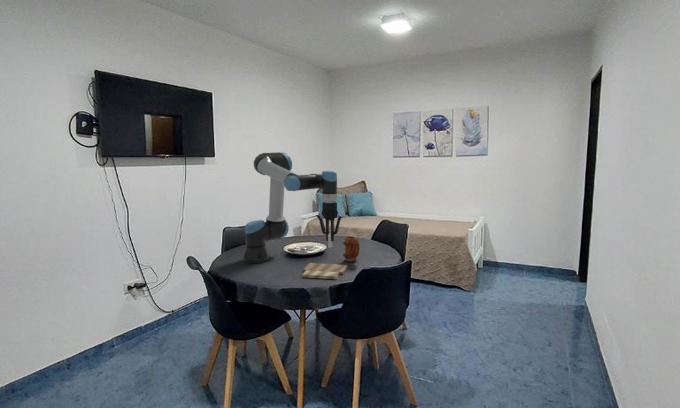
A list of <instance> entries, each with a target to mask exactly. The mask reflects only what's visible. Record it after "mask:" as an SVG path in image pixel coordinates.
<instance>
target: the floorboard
mask: <svg viewBox="0 0 680 408" xmlns="http://www.w3.org/2000/svg"><path fill="white" fill-rule="evenodd" d="M347 269H348V264H336V263H318V262H317V263H316V262H309V263H308V264H307V265H305V267H304V269H303V273H304V272H305V271H306V270H313V271H330V272H339V274H343V275H344V274H345V272H346V270H347Z"/></svg>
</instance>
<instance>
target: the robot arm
mask: <svg viewBox="0 0 680 408" xmlns="http://www.w3.org/2000/svg"><path fill="white" fill-rule="evenodd" d="M253 168H254V170H255V171H256V173H258V174H260V175H262V176H267V177H270V178H269V179H270V180H269V200H268V201H269V203H268V215H267V216H266V218H265V221H264V220H262V219H258V220H252V221H251V220H250V221H249V222H247V223H246V224H245V225H244V236H245V237H244V238H245V249H244V253H243V256H242V257H243V262H244V263H245V264H246V263H247V264H261V263H265V262H268V261H269V260H270V255H269V252H268V248H267V246H266V242H268V241H274V240H280V239H282V238H285V237H287V236H288V235H287V234H288V233H289V229H290V228H289V227H290V226H289V223H288V221H287V220H286V217H285V216H284V203H285V201H284V200H285V189H286V191H287V192H288V191H289V192H297V191H305V190H321V200H322V202H321V206H322V211H321V213H320V214H318V215H316V217H317V219H318V220H319V225H320V229H321V232H322V235H325V241H326V242H327V245H328V246H327V248H328V249H331V248H333V242H334V240H335V235H337V234H338V232H339V229H340V228H339V227H340V223H341V220H342V219H343V215H341V214H340V213H339V211H338V175H337V172H336V171H335V170H324V171H321V174H319V173H309V174H297V173H294V172H292V169H293V161H292V158H291V156H290V155H289V154H288V153H286V152H281V151H280V152H279V151H277V152H263V153H262V152H261V153H259V154H258V155H257V156H255V158H254V160H253ZM323 218H324V219H325V222H324V219H323ZM336 218H337V220H336V223H335V219H336Z"/></svg>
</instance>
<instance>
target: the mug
mask: <svg viewBox="0 0 680 408" xmlns="http://www.w3.org/2000/svg"><path fill="white" fill-rule="evenodd" d="M342 243H343V245H344V253H343V254H342V256H343V257H344V260H345V261H346V262H355V261H356V260H357V258H358V256H359V254H360V242H359V240H358V238H356V237H355V236H352V235H349V236H345V237H344V242H342Z"/></svg>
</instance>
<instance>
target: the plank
mask: <svg viewBox="0 0 680 408" xmlns="http://www.w3.org/2000/svg"><path fill="white" fill-rule="evenodd" d="M339 276H340V275H339V272H330V271H313V270H306V271H305V272H303V273H302V278H309V279H310V278H311V279H325V280H326V279H327V280H328V279H329V280H337V279H338V278H339Z"/></svg>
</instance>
